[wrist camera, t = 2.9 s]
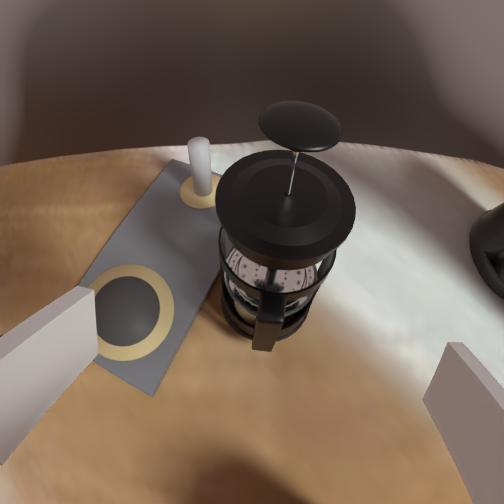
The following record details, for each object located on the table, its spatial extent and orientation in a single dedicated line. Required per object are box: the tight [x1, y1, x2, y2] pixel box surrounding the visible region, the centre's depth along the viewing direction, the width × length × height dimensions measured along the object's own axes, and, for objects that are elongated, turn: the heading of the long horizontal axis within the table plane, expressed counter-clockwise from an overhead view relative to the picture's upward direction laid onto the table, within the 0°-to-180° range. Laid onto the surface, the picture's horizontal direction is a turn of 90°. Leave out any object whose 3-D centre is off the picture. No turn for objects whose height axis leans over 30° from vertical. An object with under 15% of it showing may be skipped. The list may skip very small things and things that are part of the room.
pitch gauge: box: [78, 137, 234, 397], centre depth 33 cm, size 14×28×9 cm, turn 156°
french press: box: [215, 101, 356, 352], centre depth 24 cm, size 12×9×23 cm
